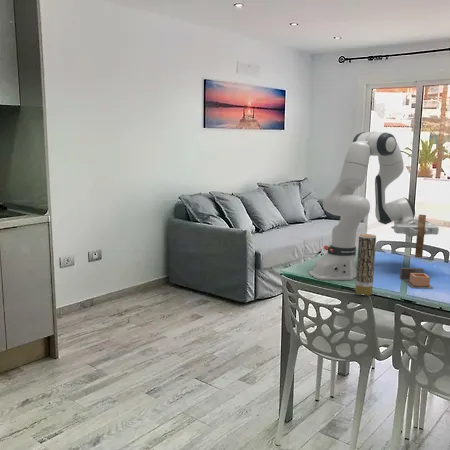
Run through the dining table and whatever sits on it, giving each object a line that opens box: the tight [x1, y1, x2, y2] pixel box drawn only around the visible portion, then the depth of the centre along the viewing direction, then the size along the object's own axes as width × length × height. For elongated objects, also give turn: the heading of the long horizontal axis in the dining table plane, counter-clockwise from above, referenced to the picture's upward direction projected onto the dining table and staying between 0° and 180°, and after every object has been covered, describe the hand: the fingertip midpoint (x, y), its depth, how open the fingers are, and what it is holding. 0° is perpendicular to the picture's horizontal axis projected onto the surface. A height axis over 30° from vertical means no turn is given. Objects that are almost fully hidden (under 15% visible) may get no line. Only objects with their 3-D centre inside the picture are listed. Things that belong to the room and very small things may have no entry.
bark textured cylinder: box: [355, 233, 377, 297], centre depth 209 cm, size 7×7×25 cm
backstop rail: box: [399, 267, 434, 290], centre depth 229 cm, size 16×10×5 cm, turn 179°
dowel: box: [414, 214, 427, 259], centre depth 237 cm, size 3×3×20 cm
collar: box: [409, 272, 431, 286], centre depth 225 cm, size 7×7×4 cm
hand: (421, 232), depth 236 cm, fingers closed on dowel, 3 cm apart
